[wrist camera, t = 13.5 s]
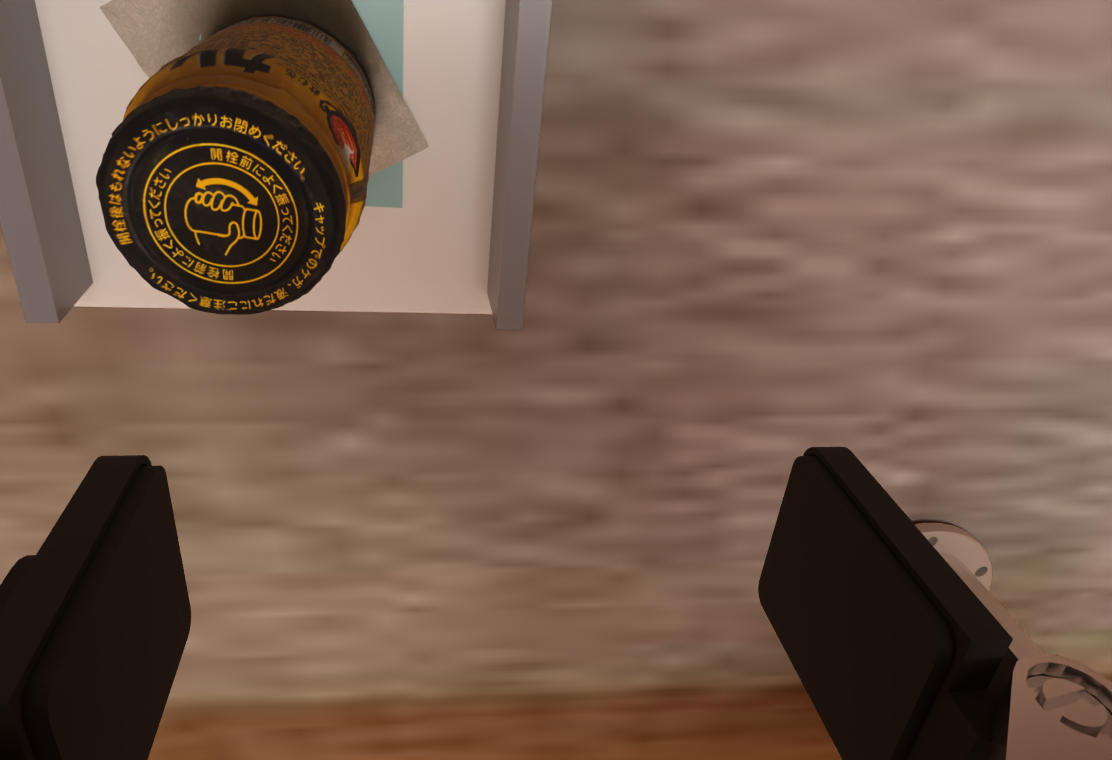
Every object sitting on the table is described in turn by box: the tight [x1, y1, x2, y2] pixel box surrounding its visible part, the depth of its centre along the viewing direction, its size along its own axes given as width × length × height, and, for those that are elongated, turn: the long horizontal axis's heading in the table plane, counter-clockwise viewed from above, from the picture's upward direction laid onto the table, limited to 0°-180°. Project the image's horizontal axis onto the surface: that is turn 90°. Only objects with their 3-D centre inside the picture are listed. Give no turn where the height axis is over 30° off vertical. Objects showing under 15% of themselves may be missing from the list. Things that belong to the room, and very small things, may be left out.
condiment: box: [96, 0, 429, 315], centre depth 22 cm, size 7×8×12 cm
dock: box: [0, 0, 552, 330], centre depth 26 cm, size 18×18×6 cm
